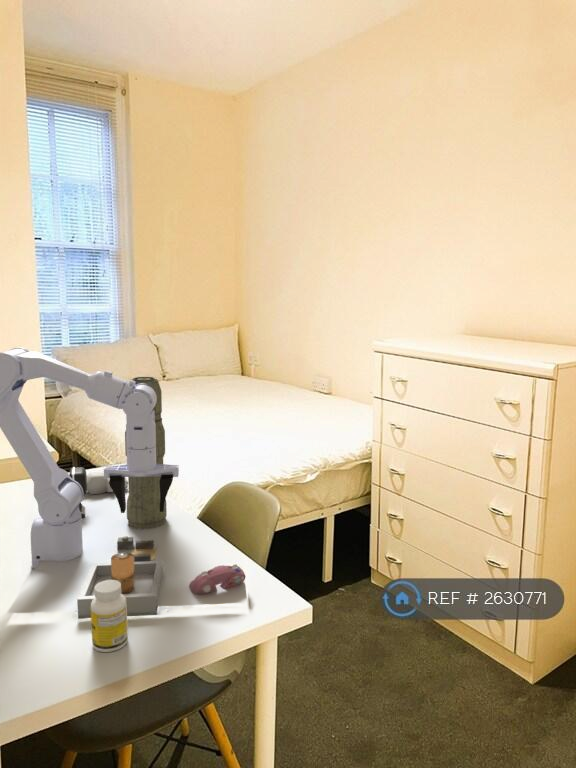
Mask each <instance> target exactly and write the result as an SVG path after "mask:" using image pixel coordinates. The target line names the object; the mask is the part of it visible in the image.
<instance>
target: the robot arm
mask: <svg viewBox="0 0 576 768" xmlns="http://www.w3.org/2000/svg"><path fill="white" fill-rule="evenodd" d="M41 378H45V379H49V380H52V381H55V382H59V383H61V384H65V385H68V386H72V387H74V388H77V389H81V390H83V391H84V392H85V393H86V396H87V398H89V399H90V400H94V401H96V402H98V403H101V404H104V405H106V406H110V407H113V408H116V409H118V410H122V411H123V412H124V414H125V416H126V417H125V419H126V421H125V422H126V424H125V431H126V449H127V457H126V464H119V465H118V464H117V465H110V466H109V465H108V466H107V465H106V466H104V468H103V473H104V479H105V478H110V481H109V485H110V487H111V488H112V490H113V492H112V493H113V494H114V496H115V497H116V500H117V502H118V506H119V511H120V513H121V514H124V513H126V511H127V500H126V487H125V478H128V477H147V476H161V478H160V481H159V482H160V512H163V511H164V503H165V499H166V500H167V495H168V493H169V490H170V488H171V486H172V483H173V480H174V478H179V473H180V467H179V466H180V465H178V464H165V463H163V464H156V424H155V414H154V410H153V408H154V407H155V405H156V402H157V396H156V393H155V391H154V390H153V389H152V388H151V387H150V386H148V385H146V384H144V383H141V384H137V385H135V383H136V382H135V381H133V380H132V379H130V380H131V381H130V380H129V381H128V380H126V379H123V378H120V377H117V376H115V375H113V372H112V371H110V370H104V371H100V370H98V371H95V372H94V373H89V372H86V371H84V370H81V369H79V368H76V367H74V366H72V365H69V364H67V363H65V362H62V361H60V360H57V359H55V358H53V357H51V356H48V355H46V354H43V353H41V352H39V351H34V350H28V349H27V348H25V347H13V348H11V349H10V350H6V351H2V352H0V429H1V431H2V433H3V434H4V437H5V438H6V440H7V441H8V443H9V444H10V446H11V447H12V449H13V451H14V453H15V454H16V456H17V458H18V459H19V461H20V462H21V464H22V466H23V467H24V468H25V471H26V472H27V473H28V475H29V477H30V479H31V480H32V482H33V497H34V499H35V501H36V502H37V506H38V508H37V509H38V510H37V511H38V514H39V517H38V518H37V517H36V518H34V520H33V522H32V523H31V524H32V525H31V529H30V550H31V552H30V553H31V565H30V568H31V569H35V568H36V567H37V566H38V564H39V562H41V561H51V562H52V561H53V562H65V561H70V560H73V559H75V558H78V557H80V556H81V555H82V553H83V552H84V549H83V548H84V545H83V525H82V523H83V522H82V521H83V520H82V519H83V518H81V512H80V510H79V504H80V503H81V504H82V501H83V499H84V495H85V494H84V492H83V489H82V487H81V485H80V484H79V483H78V482H76V481H75V480H73V479H72V478H71V477H70V476H69V474H70V473H69V472H68V471H66V470H65V469H63V468H60V466H58V464H57V462H56V460H55V458H54V457H53V456H52V454H51V452H50V450H49V449H48V447H47V446H46V444H45V442H44V441H43V439H42V437H41V435H40V434H39V432H38V431H37V429H36V426H34V424H33V422H32V421H31V419H30V417H29V415H28V413H26V411H25V409H24V407H23V406H22V403H20V401H19V399H20V396H21V393H22V391H23V388H24V385H25V384H26V382H27V381H30V380H34V379H41Z"/></svg>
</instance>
